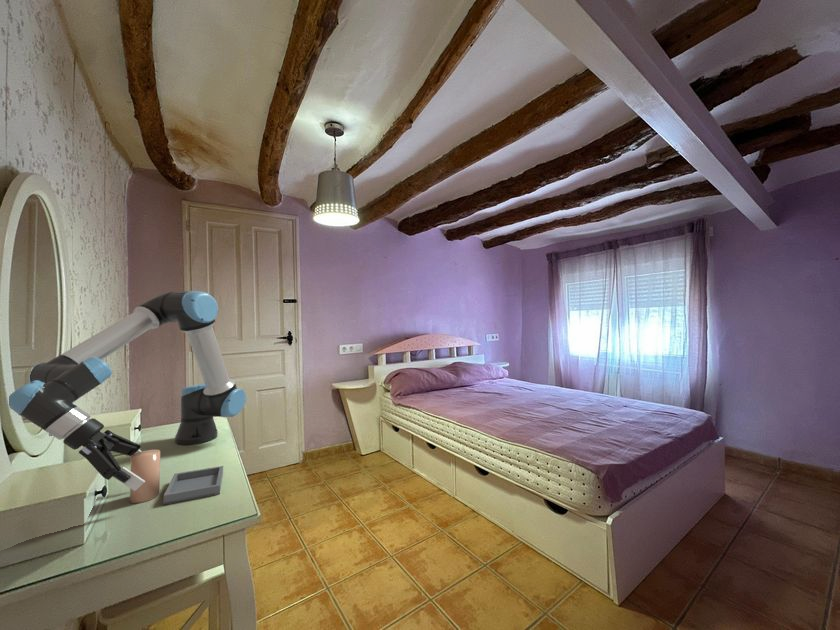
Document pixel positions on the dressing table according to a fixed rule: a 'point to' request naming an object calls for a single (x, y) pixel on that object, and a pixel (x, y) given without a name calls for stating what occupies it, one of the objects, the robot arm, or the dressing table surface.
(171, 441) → the dressing table surface
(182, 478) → the tray
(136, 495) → the peach domed cylinder
